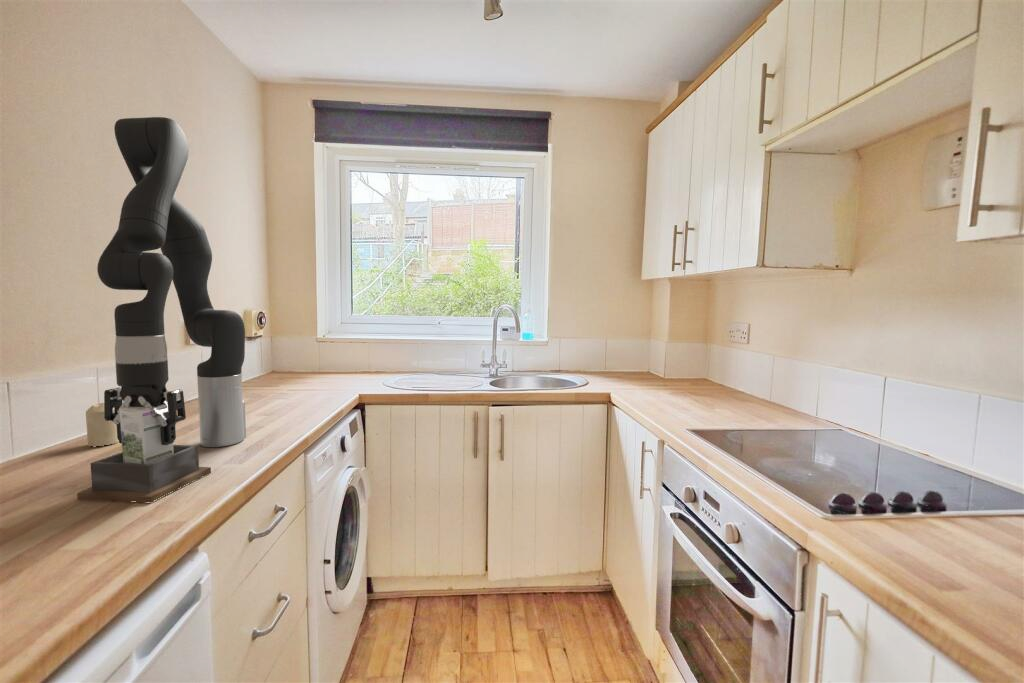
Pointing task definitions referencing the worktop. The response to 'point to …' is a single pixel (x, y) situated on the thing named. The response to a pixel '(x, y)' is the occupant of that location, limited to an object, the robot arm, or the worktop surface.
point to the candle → (100, 427)
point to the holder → (143, 476)
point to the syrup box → (142, 436)
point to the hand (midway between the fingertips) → (146, 443)
